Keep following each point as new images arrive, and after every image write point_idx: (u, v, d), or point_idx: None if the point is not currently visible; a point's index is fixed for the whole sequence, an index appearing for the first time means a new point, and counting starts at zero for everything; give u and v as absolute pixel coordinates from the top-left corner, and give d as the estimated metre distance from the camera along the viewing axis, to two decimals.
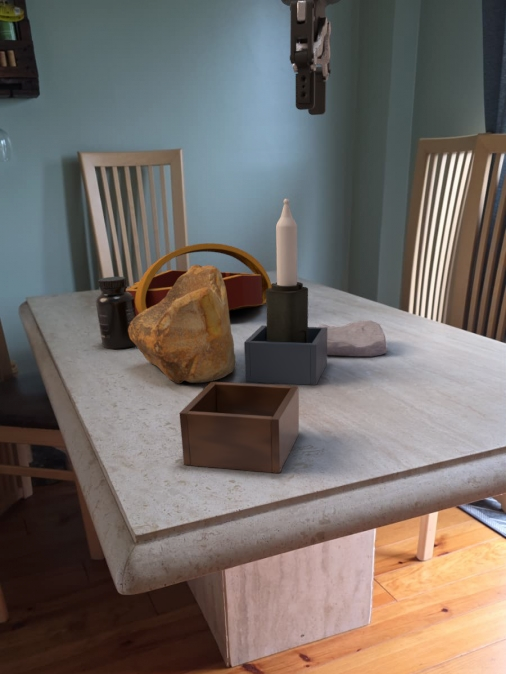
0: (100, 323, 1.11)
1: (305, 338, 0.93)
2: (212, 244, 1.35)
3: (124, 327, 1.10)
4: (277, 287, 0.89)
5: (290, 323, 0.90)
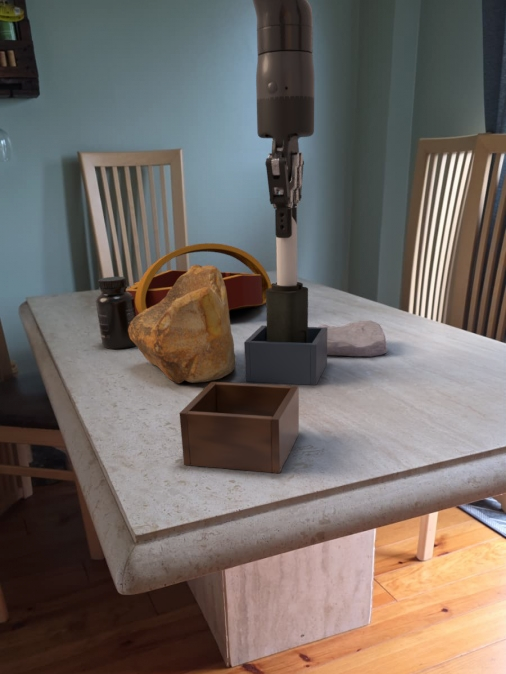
0: (100, 323, 1.11)
1: (305, 338, 0.93)
2: (212, 244, 1.35)
3: (124, 327, 1.10)
4: (277, 287, 0.89)
5: (290, 323, 0.90)
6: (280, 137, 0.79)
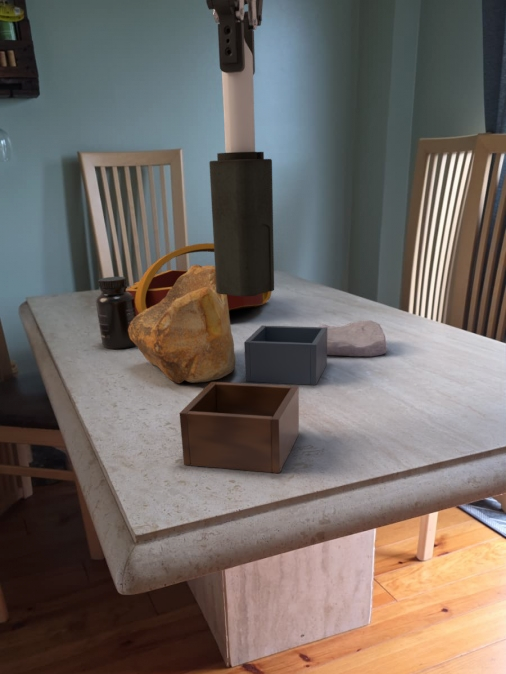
0: (100, 323, 1.11)
1: (269, 237, 0.64)
2: (212, 244, 1.35)
3: (124, 327, 1.10)
4: (224, 154, 0.59)
5: (245, 210, 0.60)
6: None
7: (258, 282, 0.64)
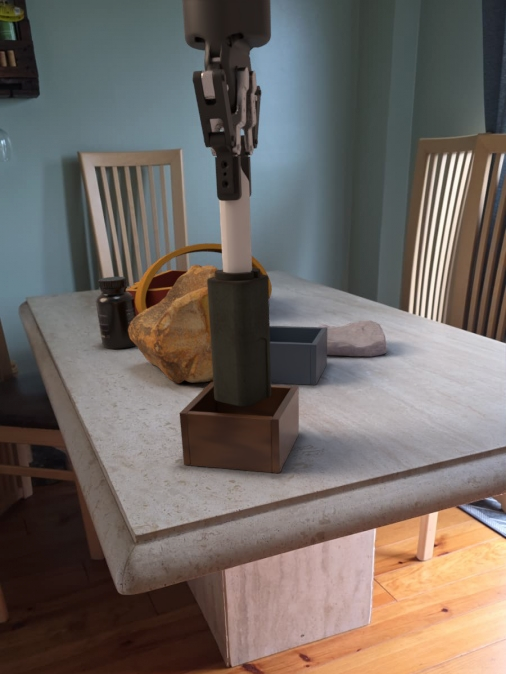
0: (100, 323, 1.11)
1: (266, 349, 0.65)
2: (212, 244, 1.35)
3: (124, 327, 1.10)
4: (222, 275, 0.61)
5: (242, 328, 0.62)
6: (216, 40, 0.51)
7: (255, 392, 0.65)
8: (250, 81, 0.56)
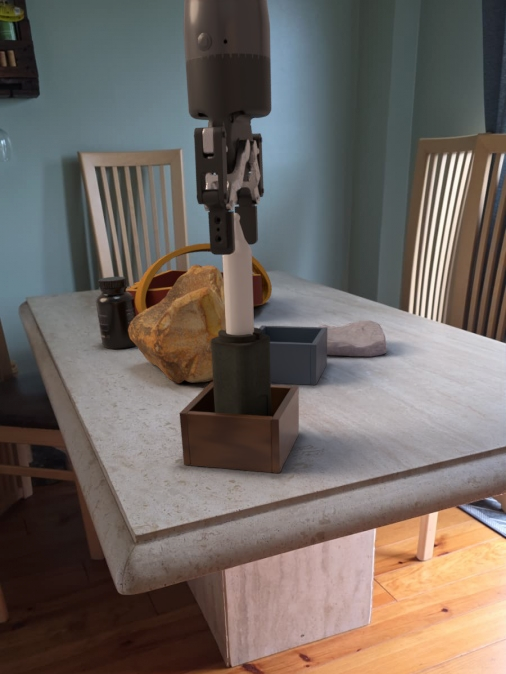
0: (100, 323, 1.11)
1: (267, 404, 0.68)
2: None
3: (124, 327, 1.10)
4: (225, 337, 0.63)
5: (245, 387, 0.64)
6: (219, 116, 0.53)
7: None
8: (251, 150, 0.58)
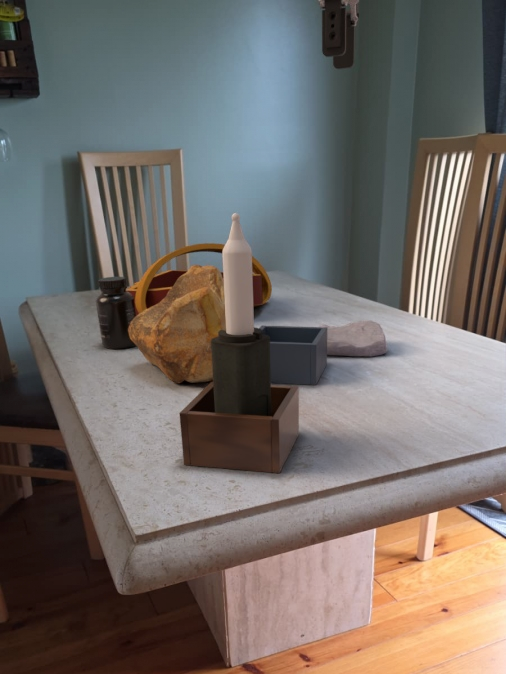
0: (100, 323, 1.11)
1: (267, 404, 0.68)
2: (212, 244, 1.35)
3: (124, 327, 1.10)
4: (225, 337, 0.63)
5: (245, 387, 0.64)
6: None
7: None
8: None
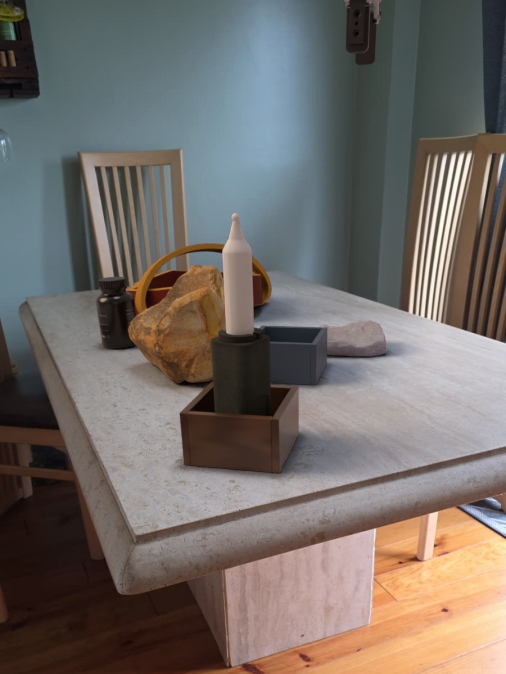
0: (100, 323, 1.11)
1: (267, 404, 0.68)
2: (212, 244, 1.35)
3: (124, 327, 1.10)
4: (225, 337, 0.63)
5: (245, 387, 0.64)
6: None
7: None
8: None
